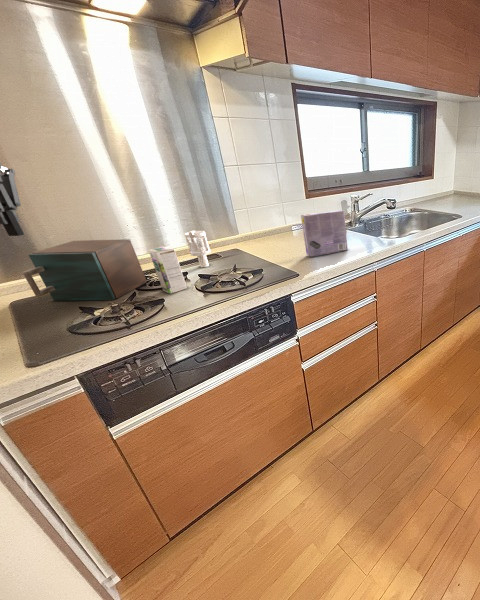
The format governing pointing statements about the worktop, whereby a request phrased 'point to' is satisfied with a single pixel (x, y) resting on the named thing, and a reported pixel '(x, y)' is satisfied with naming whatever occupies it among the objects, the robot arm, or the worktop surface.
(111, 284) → the cupboard
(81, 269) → the cupboard door
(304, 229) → the purple printed carton
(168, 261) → the syrup box
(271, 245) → the worktop surface
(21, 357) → the worktop surface
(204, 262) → the white slotted fitting
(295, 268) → the worktop surface
